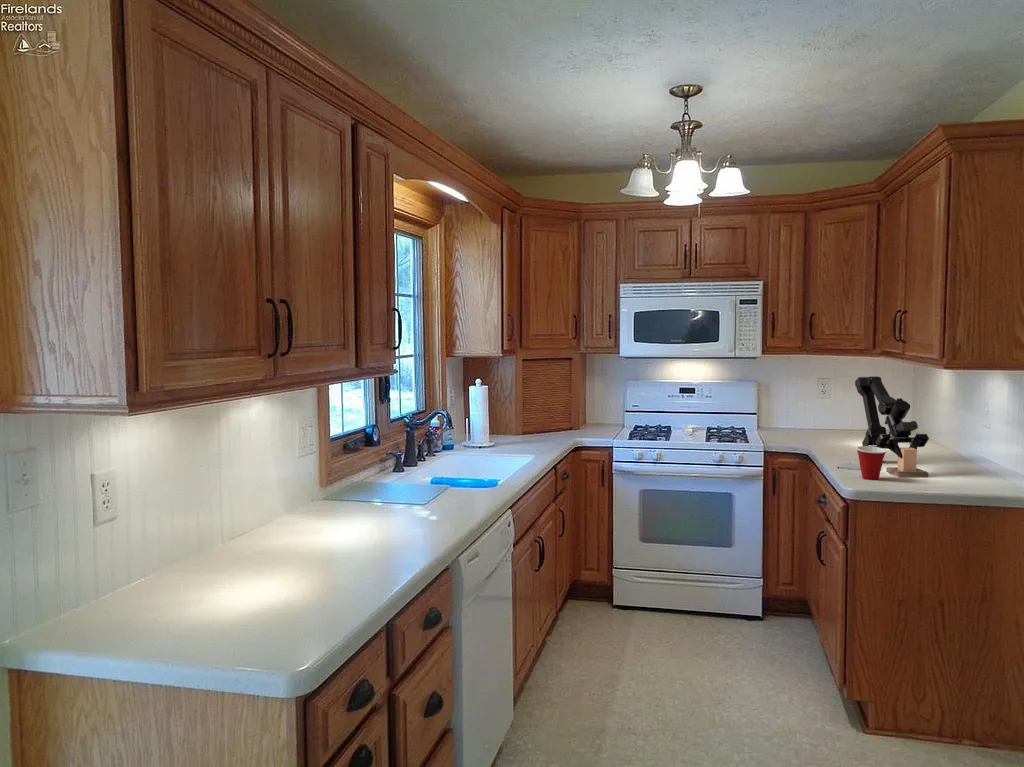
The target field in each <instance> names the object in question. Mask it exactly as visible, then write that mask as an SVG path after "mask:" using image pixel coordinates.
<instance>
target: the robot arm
mask: <svg viewBox="0 0 1024 767" xmlns="http://www.w3.org/2000/svg"><path fill="white" fill-rule="evenodd" d="M854 386H855V387H856V390H857V393H858V394H859V395H860V396H861V397H862V401H863V406H864V412H865V417H866V422H867V429H866V431H865V433H864V434H865V436H864V439H862V442H861V446H871V447H879V448H883V449H886V450H887V449H888V450H889V451H891V452H892V453H894V454H895V455H896V456H897V457H898V456H899V457H900V458H902V457H903V456H902V452H901V450H900V448H901V447H900V446H899V444H909V447H908V448H914V449H917V450H918V448H924V447H925V446H926V444H927V443H928V441H929V440H930V437H929V435H928V434H927V433H916V434H915V436H914V437H910V436H911V435H912V431H915V430H917V429H918V428H919V425H918V423H917V421H916V420H912V421H903V420H904V419H905V418H906V416H907V415H908V413H909V411H910V409H911V404H910V403H909V402H908V401H906V400H904V399H903V398H902V397H901V398H895V397H892V396H890V394H889V392H888V390H887V389H886V387H885V385H884V383H883V381H882V378H881V376H878V375H876V376H874V375H873V376H872V375H871V376H870V375H869V376H858V377H857V378H856V379H855V381H854ZM876 400H877V402H876ZM877 403H878V405H877ZM878 412H879V413H878ZM879 414H880V415H881V416H886V417H885V420H884V425H887V427H888V429H889V432H888V433H887V429H886V427H885V426H882V425H881V422H880V418H879ZM884 462H885V460H884V459H883V463H884Z"/></svg>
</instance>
